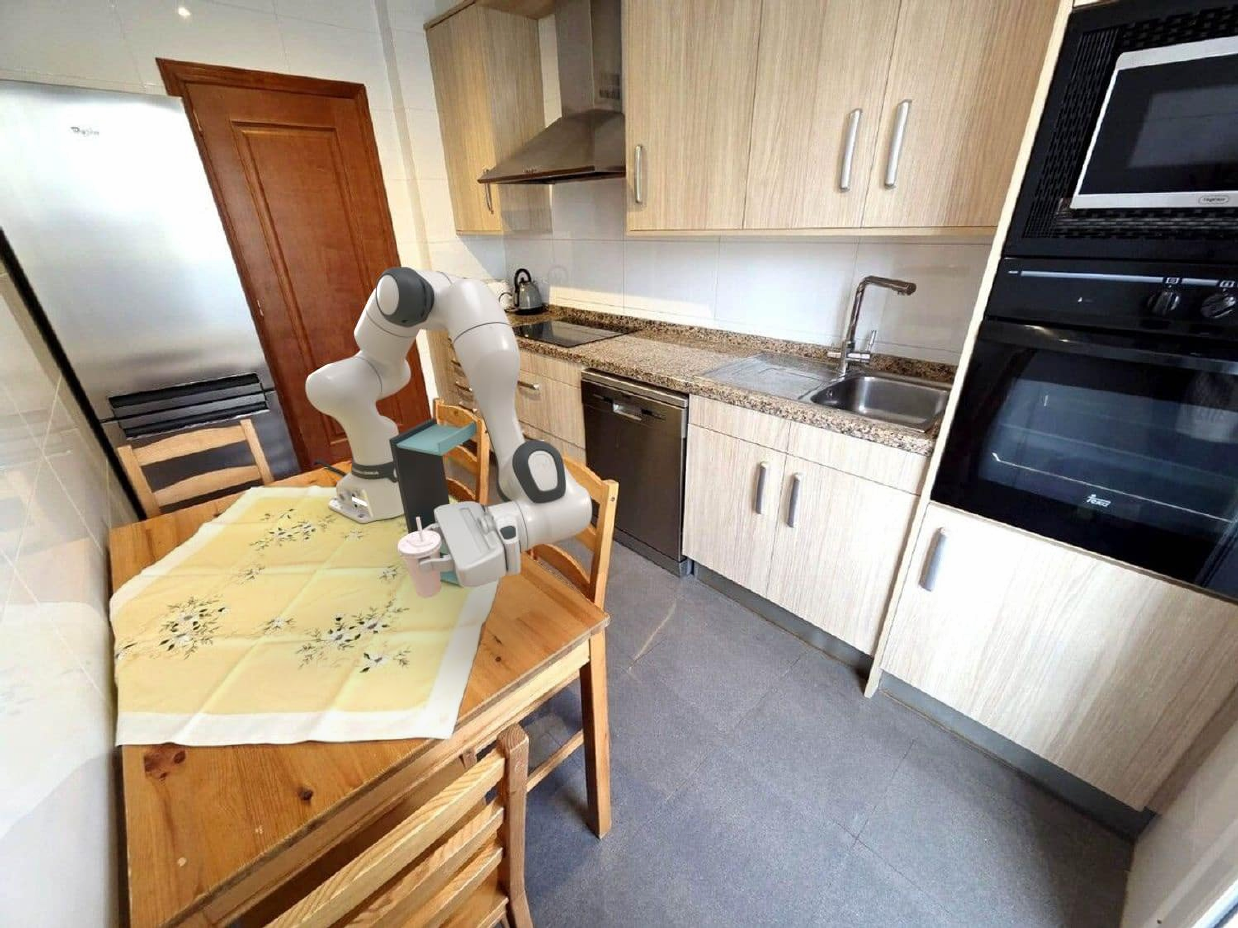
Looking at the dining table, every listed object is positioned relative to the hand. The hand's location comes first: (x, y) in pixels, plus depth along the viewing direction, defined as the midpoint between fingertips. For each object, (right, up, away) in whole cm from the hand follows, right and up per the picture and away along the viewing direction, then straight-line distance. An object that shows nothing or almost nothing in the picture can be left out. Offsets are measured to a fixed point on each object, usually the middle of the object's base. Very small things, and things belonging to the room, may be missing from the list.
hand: (415, 553), depth 78 cm
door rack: (-4, -8, +31) cm, 32 cm away
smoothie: (+1, -7, +4) cm, 8 cm away
